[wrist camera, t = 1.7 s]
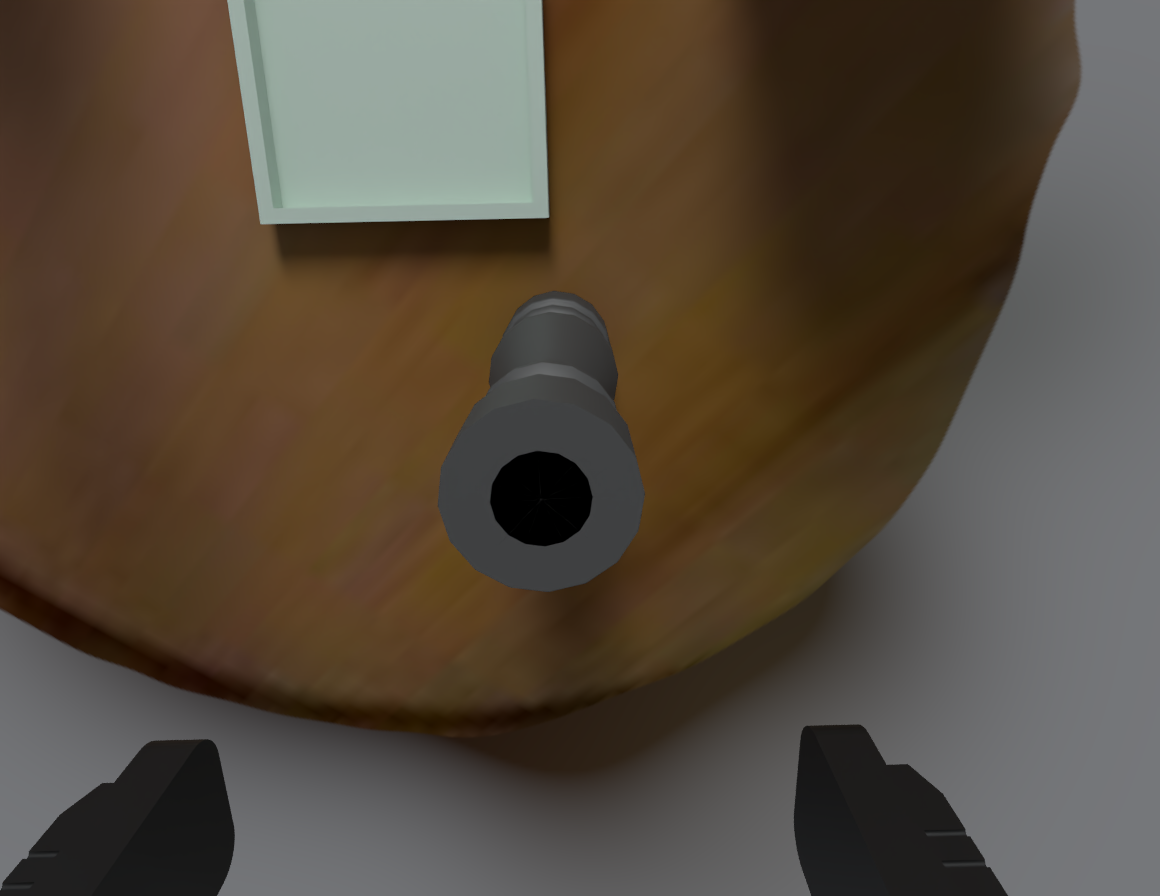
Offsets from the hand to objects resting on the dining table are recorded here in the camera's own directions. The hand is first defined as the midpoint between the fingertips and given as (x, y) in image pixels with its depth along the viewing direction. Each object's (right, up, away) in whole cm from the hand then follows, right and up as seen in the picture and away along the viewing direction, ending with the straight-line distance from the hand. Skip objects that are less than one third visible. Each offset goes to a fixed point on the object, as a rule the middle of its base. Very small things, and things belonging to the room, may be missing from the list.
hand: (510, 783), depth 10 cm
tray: (-9, +25, +29) cm, 39 cm away
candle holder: (0, +11, +34) cm, 36 cm away
